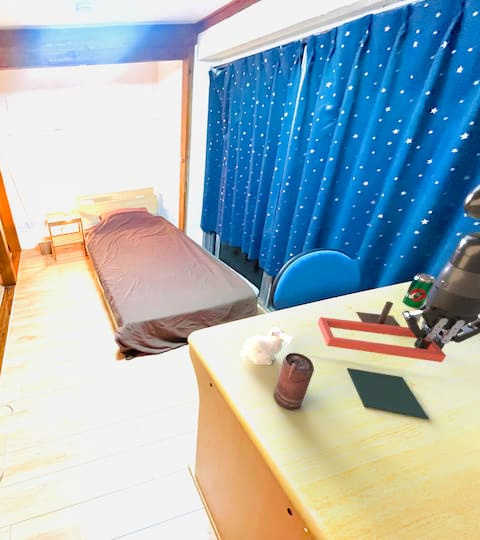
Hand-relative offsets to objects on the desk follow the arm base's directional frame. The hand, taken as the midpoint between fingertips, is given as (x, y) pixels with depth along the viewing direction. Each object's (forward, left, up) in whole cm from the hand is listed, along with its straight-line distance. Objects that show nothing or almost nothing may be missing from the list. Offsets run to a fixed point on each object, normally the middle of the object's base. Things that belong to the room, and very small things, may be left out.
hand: (424, 351), depth 62 cm
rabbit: (+30, -5, -15) cm, 34 cm away
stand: (-6, -28, -15) cm, 32 cm away
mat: (+3, 0, -15) cm, 15 cm away
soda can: (-20, -42, -15) cm, 49 cm away
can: (+26, +9, -15) cm, 31 cm away
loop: (+10, 0, +1) cm, 10 cm away
